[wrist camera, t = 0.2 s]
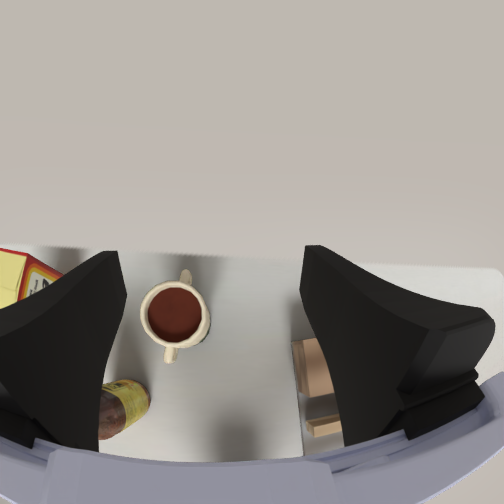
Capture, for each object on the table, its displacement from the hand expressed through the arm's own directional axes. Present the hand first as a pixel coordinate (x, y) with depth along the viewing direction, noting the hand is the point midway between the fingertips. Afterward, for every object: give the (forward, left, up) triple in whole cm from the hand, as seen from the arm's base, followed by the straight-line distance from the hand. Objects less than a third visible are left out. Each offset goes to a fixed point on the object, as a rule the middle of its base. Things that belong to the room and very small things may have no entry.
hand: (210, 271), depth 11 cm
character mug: (+1, +5, -32) cm, 32 cm away
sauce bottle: (-10, +15, -32) cm, 36 cm away
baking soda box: (+4, +27, -32) cm, 42 cm away
